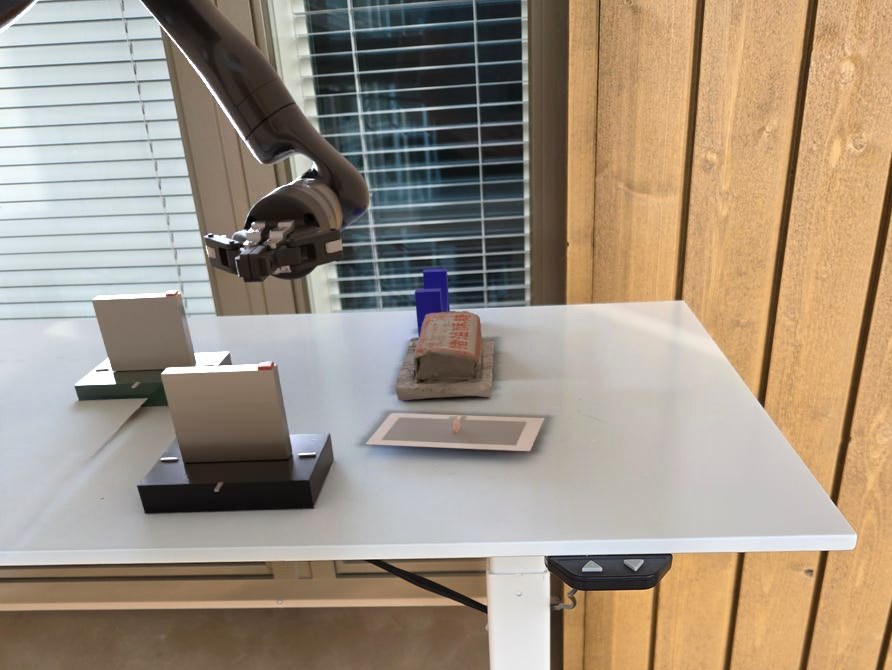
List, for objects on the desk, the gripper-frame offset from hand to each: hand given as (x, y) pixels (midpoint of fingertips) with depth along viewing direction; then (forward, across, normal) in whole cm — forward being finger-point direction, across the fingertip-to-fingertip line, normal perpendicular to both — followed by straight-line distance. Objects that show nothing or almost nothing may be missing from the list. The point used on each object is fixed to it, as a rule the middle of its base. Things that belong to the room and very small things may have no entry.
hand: (250, 269), depth 73 cm
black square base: (+7, -2, +16) cm, 18 cm away
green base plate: (-19, -18, +16) cm, 31 cm away
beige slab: (-19, -18, +13) cm, 29 cm away
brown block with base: (-21, +14, +16) cm, 30 cm away
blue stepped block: (-39, +12, +16) cm, 44 cm away
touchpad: (-1, +16, +16) cm, 23 cm away
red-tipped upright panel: (+7, -2, +13) cm, 15 cm away
